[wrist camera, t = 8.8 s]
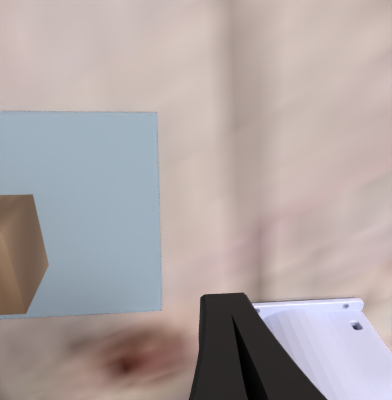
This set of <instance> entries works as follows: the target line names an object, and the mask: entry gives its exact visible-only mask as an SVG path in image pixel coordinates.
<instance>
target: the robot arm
mask: <svg viewBox="0 0 392 400" xmlns="http://www.w3.org/2000/svg"><path fill="white" fill-rule="evenodd" d="M363 306H364V303H363V301H362V300H361V299H360V298H344V299H325V300H306V301H287V302H268V303H251V302H250V300H249V299H248V297H247V296H246V295H245V294H244V293H226V294H205V295H203V296H202V297H201V299H200V320H199V354H198V360H197V365H196V370H195V375H194V380H193V385H192V389H191V393H190V398H189V400H392V353H391V352H390V350H389V349H388V348H387V346H386V345H385V343H384V342H383V341H382V339H381V338H380V336H379V335H378V333H377V332H376V331H375V329H374V328H373V326H372V325H371V324H370V322H369V321H368V319H367V318H366V317H365V315H364V314H363V312H362V308H363ZM256 309H257V310H256Z"/></svg>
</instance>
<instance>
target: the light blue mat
mask: <svg viewBox="0 0 392 400" xmlns="http://www.w3.org/2000/svg"><path fill="white" fill-rule="evenodd" d="M27 194H33V197H34V201H35V206H36V210H37V215H38V219H39V223H40V228H41V232H42V237H43V241H44V245H45V250H46V254H47V259H48V263H49V266H48V268H47V270H46V272H45V274H44V277H43V279H42V281H41V283H40V285H39V287H38V289H37V292H36V294H35V296H34V298H33V300H32V302H31V304H30V306H29V309H28V311H27V313H26V314H13V315H0V319H15V318H34V317H52V316H71V315H90V314H109V313H128V312H147V311H162V292H161V253H160V213H159V174H158V135H157V112H42V111H0V195H27Z"/></svg>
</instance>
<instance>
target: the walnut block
mask: <svg viewBox="0 0 392 400" xmlns="http://www.w3.org/2000/svg"><path fill="white" fill-rule="evenodd" d="M48 266H49V263H48V259H47V254H46V250H45V245H44V241H43V237H42V232H41V228H40V223H39V219H38V215H37V210H36V206H35V201H34V197H33V194H27V195H0V315H13V314H26V313H27V311H28V309H29V306H30V304H31V302H32V300H33V298H34V296H35V294H36V292H37V289H38V287H39V285H40V283H41V281H42V279H43V277H44V274H45V272H46V270H47V268H48Z"/></svg>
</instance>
